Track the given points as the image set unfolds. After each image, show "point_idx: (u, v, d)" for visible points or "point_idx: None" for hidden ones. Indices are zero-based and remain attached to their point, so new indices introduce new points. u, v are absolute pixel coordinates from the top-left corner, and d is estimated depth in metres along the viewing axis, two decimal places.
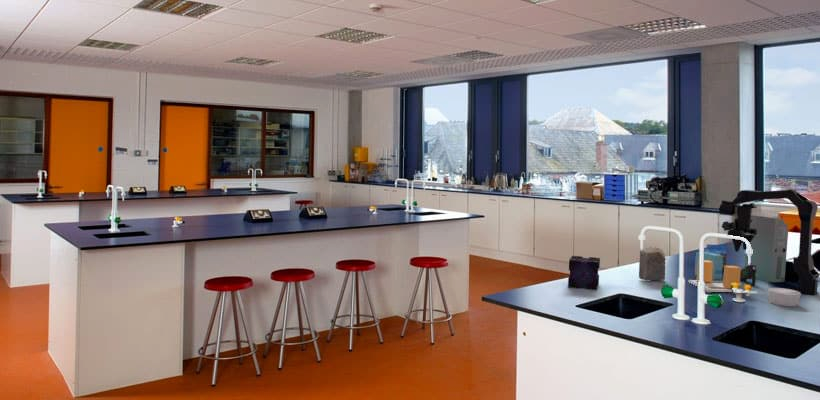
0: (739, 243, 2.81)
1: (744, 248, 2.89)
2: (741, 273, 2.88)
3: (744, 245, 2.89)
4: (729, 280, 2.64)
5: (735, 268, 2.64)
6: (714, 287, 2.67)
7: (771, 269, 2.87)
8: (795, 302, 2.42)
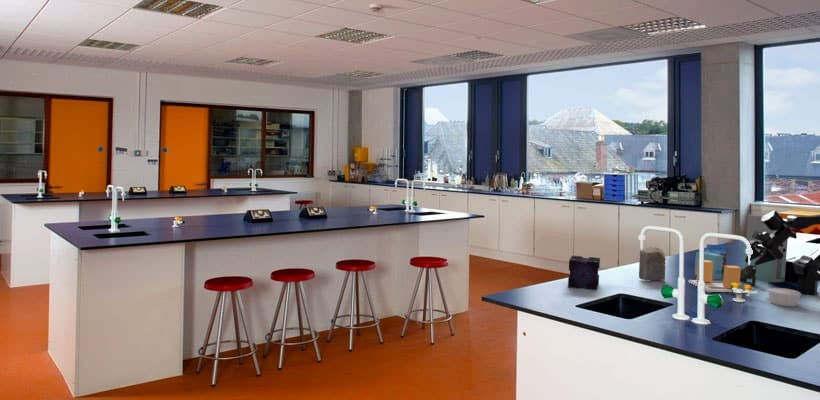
0: (766, 261, 2.60)
1: (747, 260, 2.69)
2: (741, 273, 2.88)
3: None
4: (729, 280, 2.64)
5: (735, 268, 2.64)
6: (714, 287, 2.67)
7: (771, 269, 2.87)
8: (795, 302, 2.42)
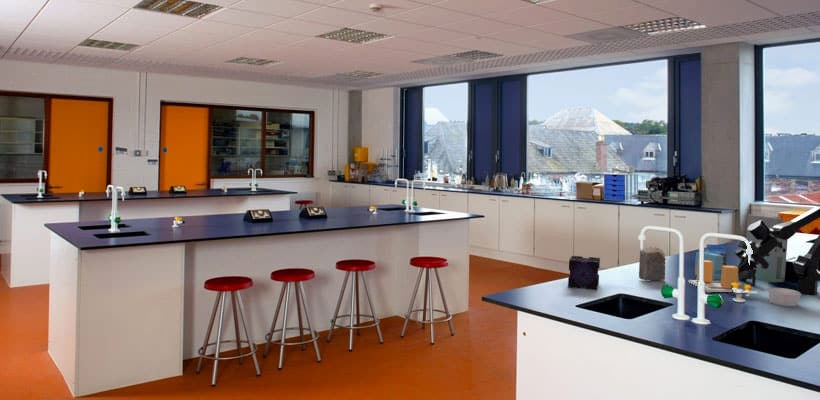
0: (747, 268, 2.64)
1: None
2: (741, 273, 2.88)
3: None
4: (727, 280, 2.64)
5: (733, 268, 2.64)
6: (714, 287, 2.67)
7: (771, 269, 2.87)
8: (795, 302, 2.42)
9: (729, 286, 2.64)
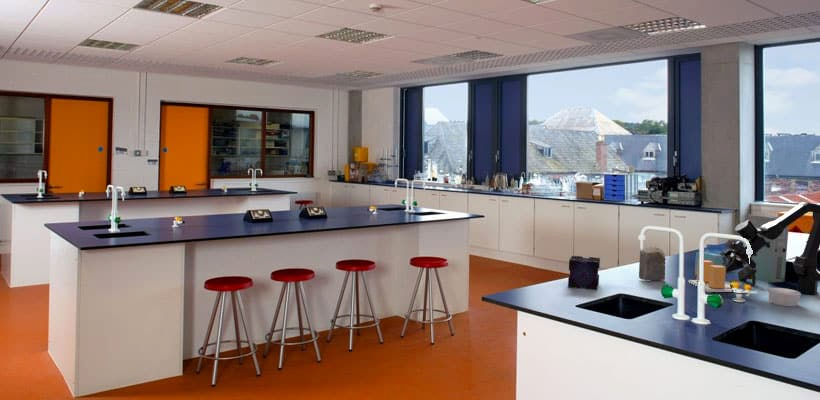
0: (735, 268, 2.64)
1: None
2: (741, 273, 2.88)
3: None
4: (714, 280, 2.64)
5: (720, 268, 2.64)
6: None
7: (771, 269, 2.87)
8: (795, 302, 2.42)
9: (717, 286, 2.64)
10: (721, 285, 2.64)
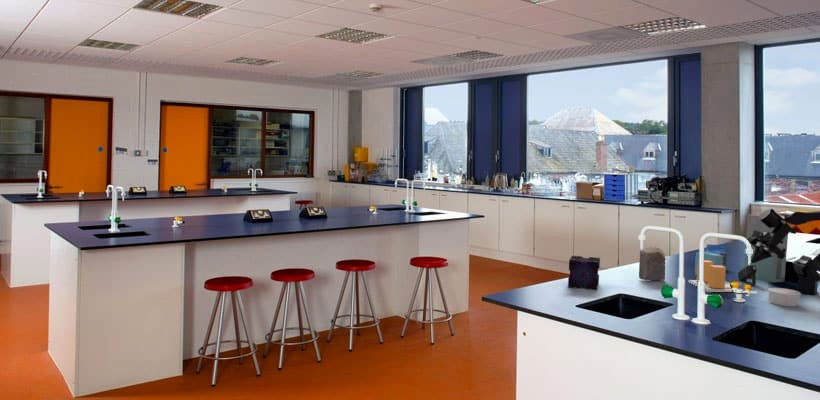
0: (763, 258, 2.65)
1: None
2: (741, 273, 2.88)
3: None
4: (714, 280, 2.64)
5: (720, 268, 2.64)
6: None
7: (771, 269, 2.87)
8: (795, 302, 2.42)
9: (717, 286, 2.64)
10: (721, 285, 2.64)
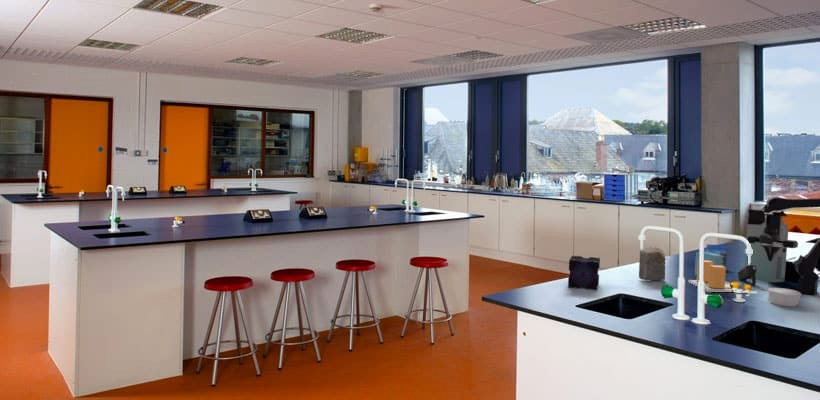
0: (776, 252, 2.70)
1: None
2: (741, 273, 2.88)
3: None
4: (714, 280, 2.64)
5: (720, 268, 2.64)
6: None
7: (771, 269, 2.87)
8: (795, 302, 2.42)
9: (717, 286, 2.64)
10: (721, 285, 2.64)
